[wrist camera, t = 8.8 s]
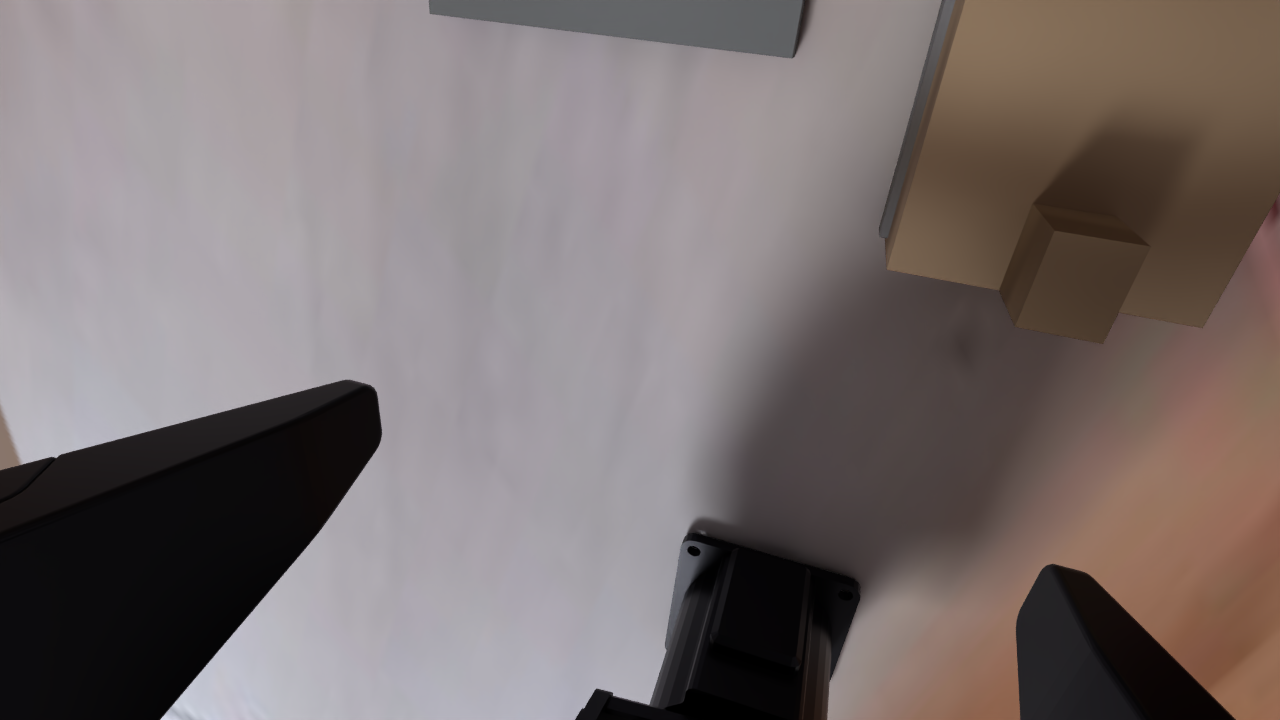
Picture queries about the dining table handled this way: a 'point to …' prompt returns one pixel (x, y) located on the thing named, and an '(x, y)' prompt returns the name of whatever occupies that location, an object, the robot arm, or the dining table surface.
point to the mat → (652, 20)
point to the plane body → (1090, 156)
